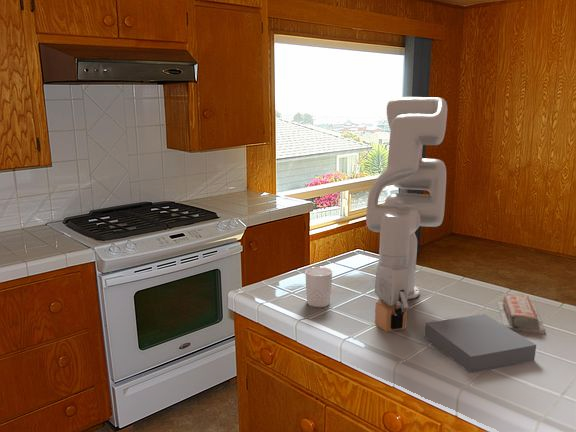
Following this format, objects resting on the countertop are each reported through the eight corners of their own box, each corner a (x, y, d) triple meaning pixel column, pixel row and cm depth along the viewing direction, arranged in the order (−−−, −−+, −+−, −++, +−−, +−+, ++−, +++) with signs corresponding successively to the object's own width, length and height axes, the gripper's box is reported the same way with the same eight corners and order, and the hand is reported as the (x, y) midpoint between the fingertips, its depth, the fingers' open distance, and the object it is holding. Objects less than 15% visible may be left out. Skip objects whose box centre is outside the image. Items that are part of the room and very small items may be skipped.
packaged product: (547, 318, 132) (505, 314, 134) (545, 336, 133) (503, 331, 136) (535, 293, 148) (498, 289, 151) (533, 308, 150) (497, 304, 152)
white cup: (317, 310, 147) (318, 277, 145) (299, 302, 153) (299, 270, 151) (337, 303, 152) (337, 271, 150) (318, 295, 158) (319, 265, 155)
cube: (374, 322, 140) (375, 301, 138) (394, 319, 141) (395, 299, 140) (385, 331, 134) (386, 310, 133) (405, 328, 136) (407, 307, 134)
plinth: (424, 337, 131) (425, 322, 130) (483, 327, 136) (484, 313, 135) (469, 372, 114) (471, 356, 113) (534, 360, 120) (536, 344, 119)
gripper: (365, 251, 140) (363, 312, 144) (397, 271, 124) (393, 339, 128) (390, 248, 142) (387, 308, 147) (424, 268, 126) (419, 335, 131)
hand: (390, 322), depth 137 cm, fingers closed on cube, 6 cm apart
